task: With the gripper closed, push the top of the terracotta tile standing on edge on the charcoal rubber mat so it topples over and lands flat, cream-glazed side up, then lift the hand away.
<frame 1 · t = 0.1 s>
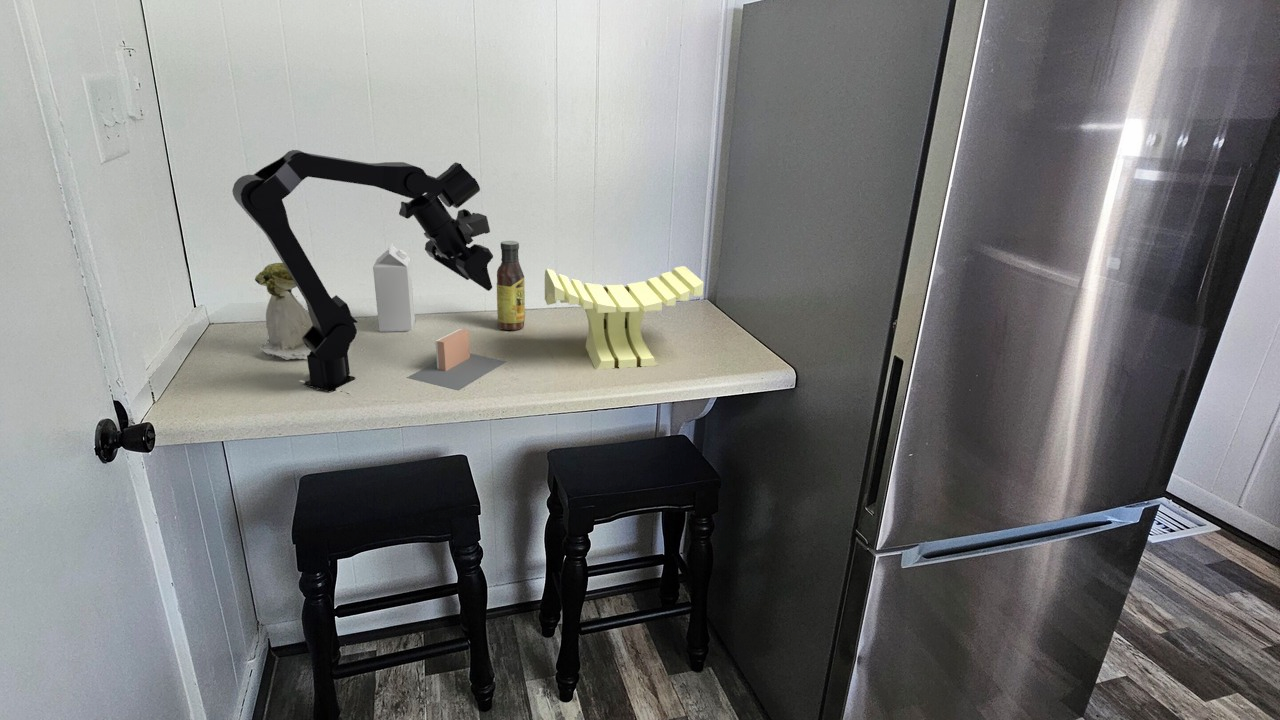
hand: (479, 283, 146), 15 cm above the worktop, tool tilted 30°, fingers open, 9 cm apart
sauce bottle: (511, 327, 166), on the worktop
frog: (297, 351, 147), on the worktop
tile: (454, 363, 143), resting on mat
yellow slatted pedestal stand: (619, 354, 153), on the worktop
mat: (458, 371, 141), on the worktop
milk carton: (397, 327, 162), on the worktop
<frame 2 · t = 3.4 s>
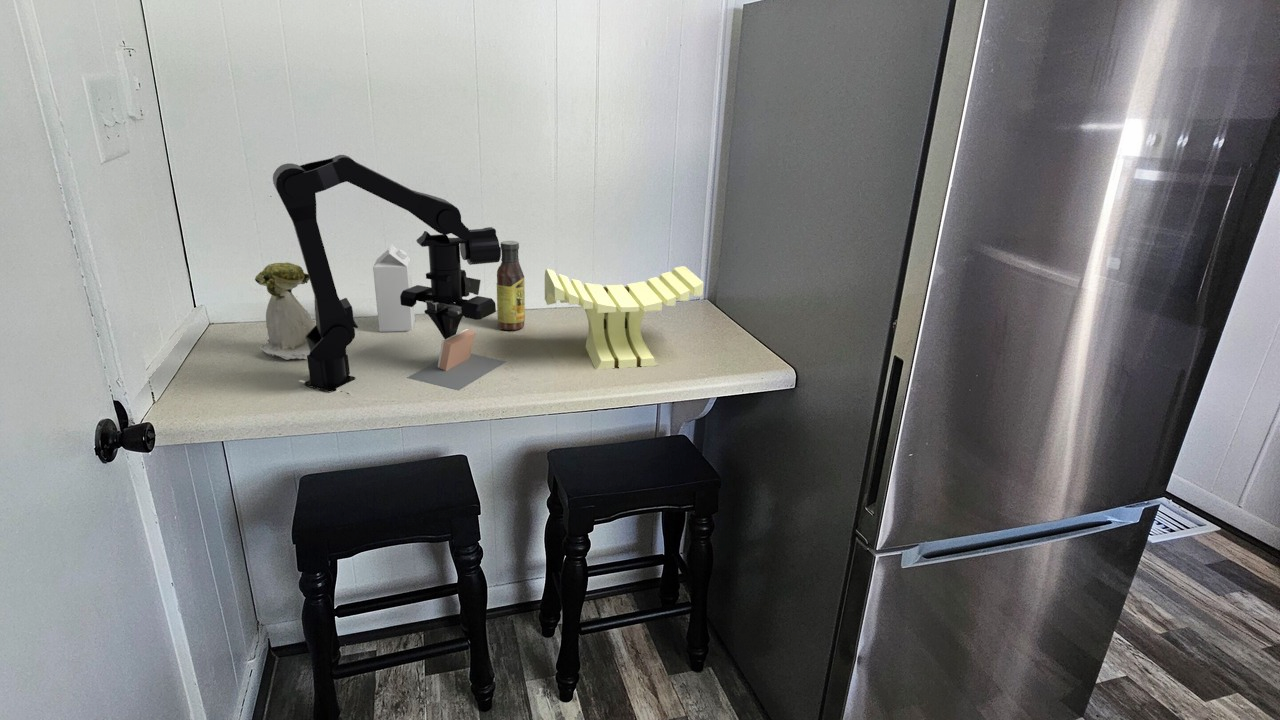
hand: (450, 342, 142), 5 cm above the worktop, tool pointing down, fingers closed
tile: (454, 362, 143), point 1 cm above the worktop, tilted 15°, touching mat
everything else where it was.
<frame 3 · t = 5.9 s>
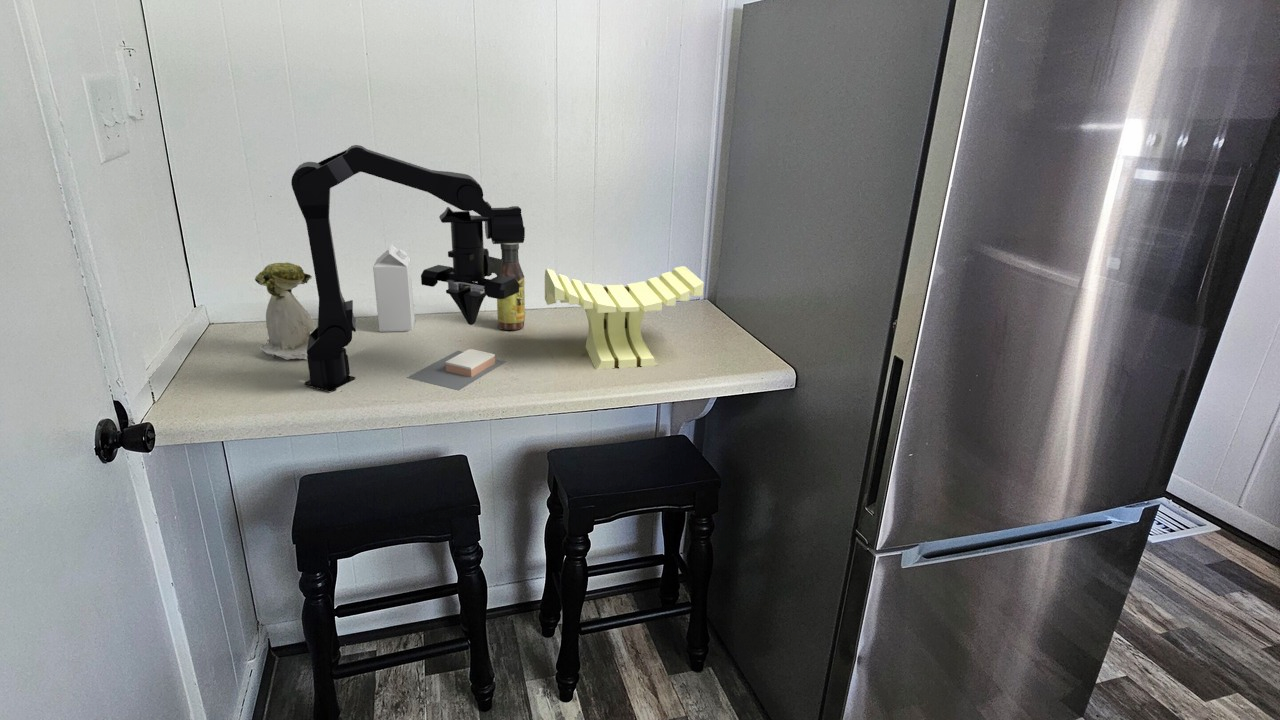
hand: (471, 324, 138), 10 cm above the worktop, tool pointing down, fingers closed
tile: (458, 359, 142), point 1 cm above the worktop, tilted 90°, touching mat
everything else where it was.
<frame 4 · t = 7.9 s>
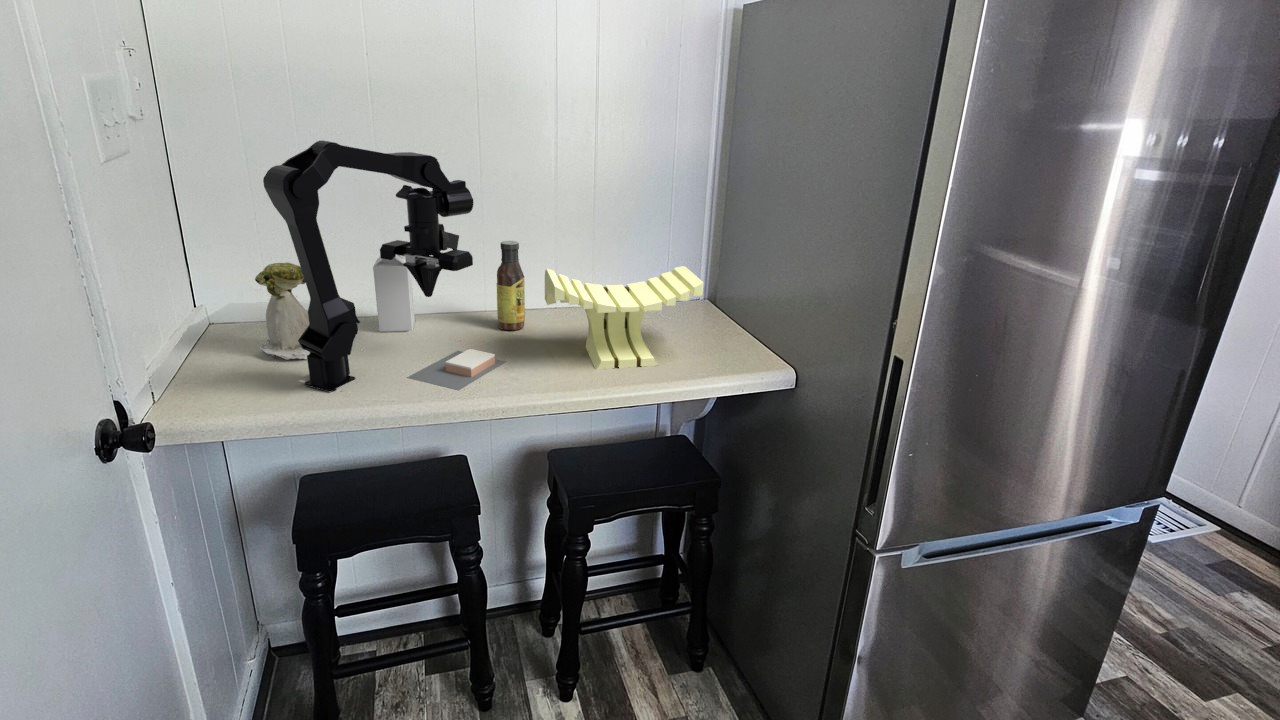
hand: (428, 296, 145), 12 cm above the worktop, tool pointing down, fingers closed
nothing on the worktop moved.
at the end: tile tilted 90°; tile point 1.4 cm above the worktop; tile inside the target area on the mat (3.2 cm from its centre), point 1.4 cm above the mat's base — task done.
